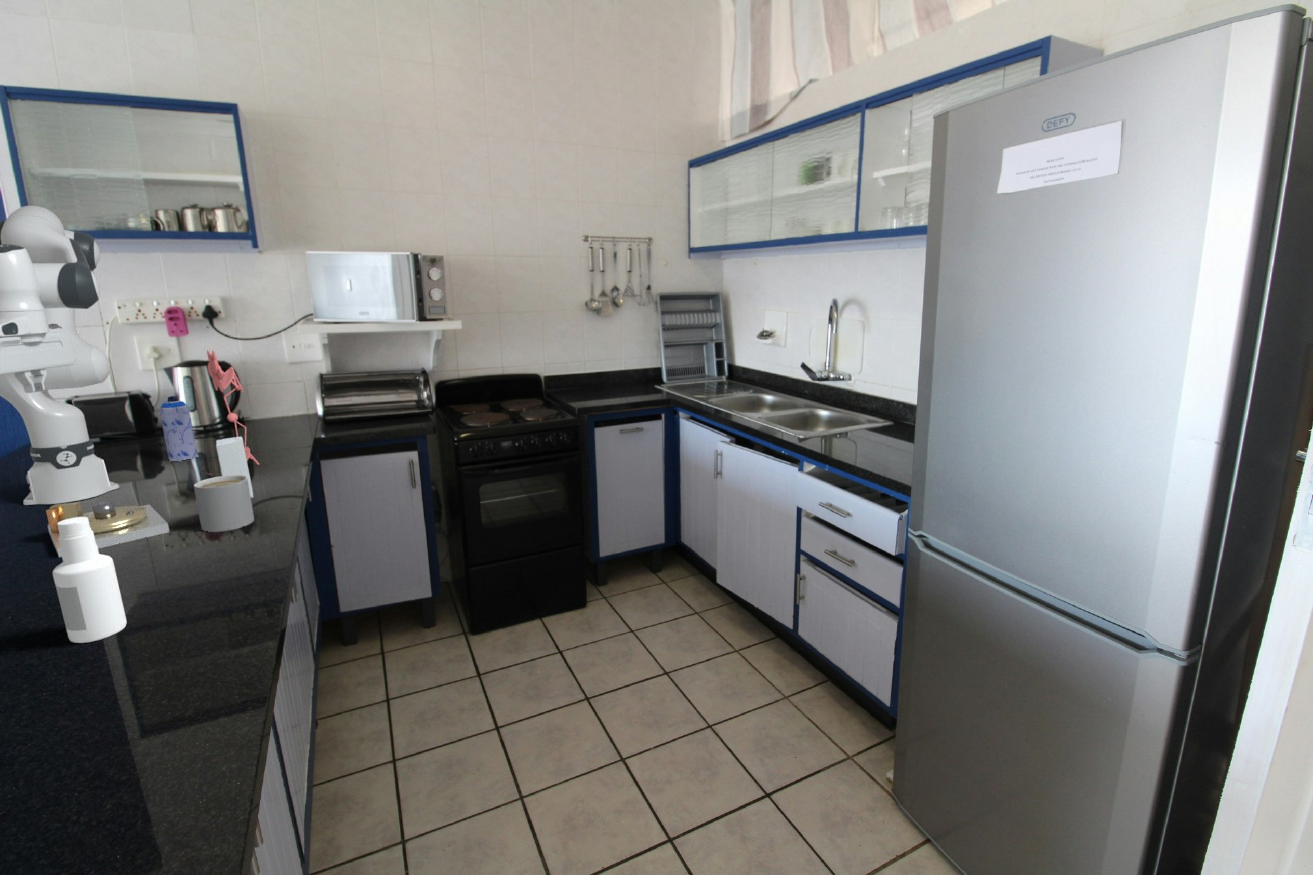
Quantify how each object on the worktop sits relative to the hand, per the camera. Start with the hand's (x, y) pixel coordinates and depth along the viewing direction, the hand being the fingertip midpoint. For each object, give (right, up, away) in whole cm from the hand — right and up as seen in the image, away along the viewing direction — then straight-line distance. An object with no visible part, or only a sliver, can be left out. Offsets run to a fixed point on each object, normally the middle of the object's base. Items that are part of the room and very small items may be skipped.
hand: (35, 391), depth 138 cm
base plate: (+12, -31, +4) cm, 33 cm away
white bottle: (+46, -40, -38) cm, 72 cm away
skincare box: (+25, -25, +29) cm, 45 cm away
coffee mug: (+34, -29, +10) cm, 46 cm away
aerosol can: (-19, -17, +70) cm, 74 cm away
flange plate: (+11, -28, +4) cm, 31 cm away
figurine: (+3, -19, +59) cm, 62 cm away
